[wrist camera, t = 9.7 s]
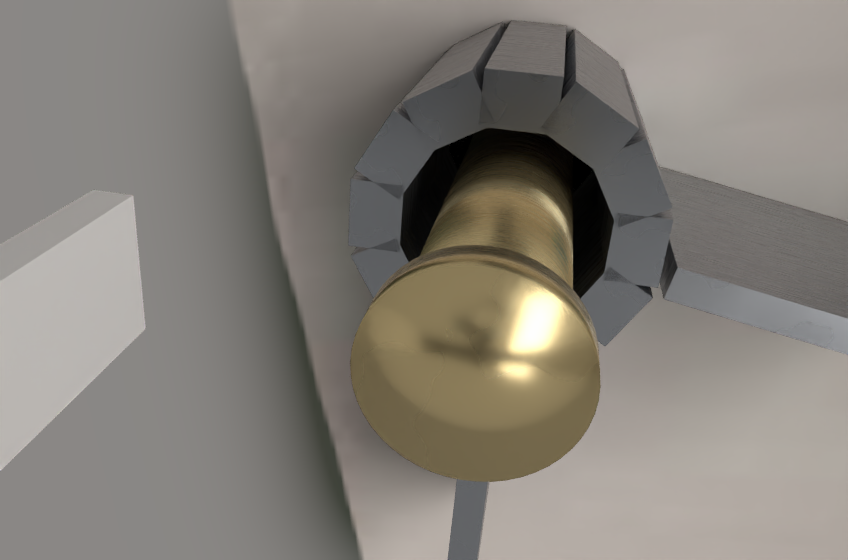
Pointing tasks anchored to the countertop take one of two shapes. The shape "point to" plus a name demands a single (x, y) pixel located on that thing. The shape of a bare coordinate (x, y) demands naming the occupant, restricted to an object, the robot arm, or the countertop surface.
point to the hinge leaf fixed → (528, 112)
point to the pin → (485, 323)
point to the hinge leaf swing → (757, 261)
